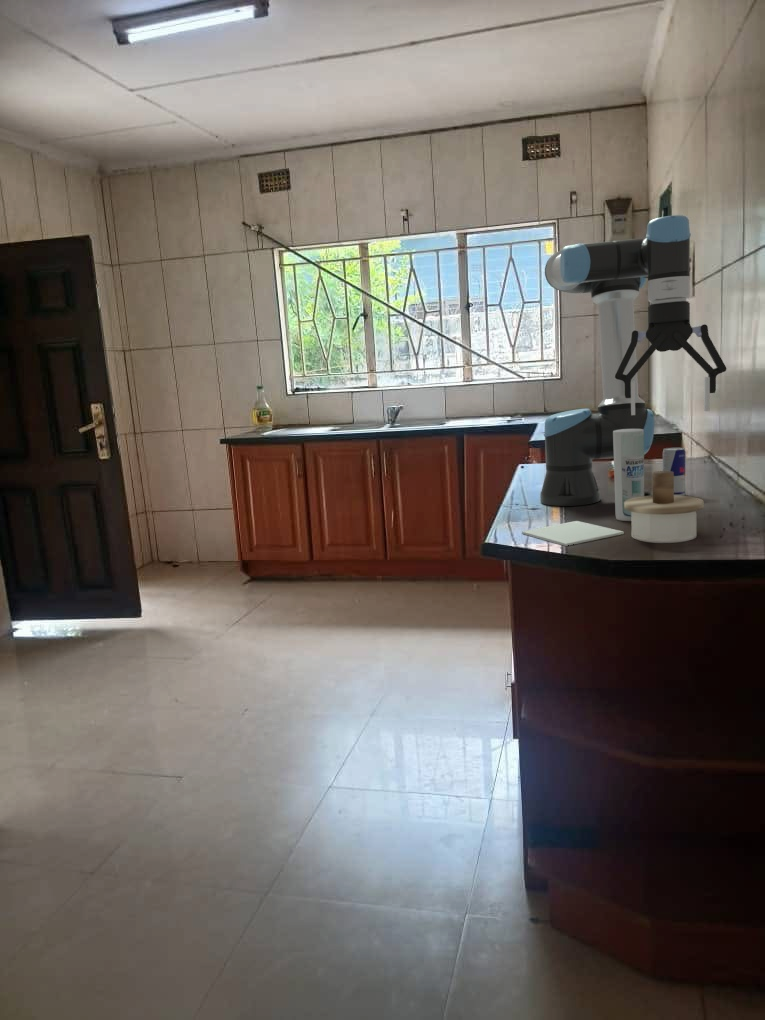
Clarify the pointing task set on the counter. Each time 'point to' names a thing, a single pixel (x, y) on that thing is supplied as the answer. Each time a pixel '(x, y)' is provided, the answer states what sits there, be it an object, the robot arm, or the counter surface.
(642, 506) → the lid
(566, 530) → the mat
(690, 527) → the bowl
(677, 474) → the energy drink
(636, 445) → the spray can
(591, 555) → the counter surface
